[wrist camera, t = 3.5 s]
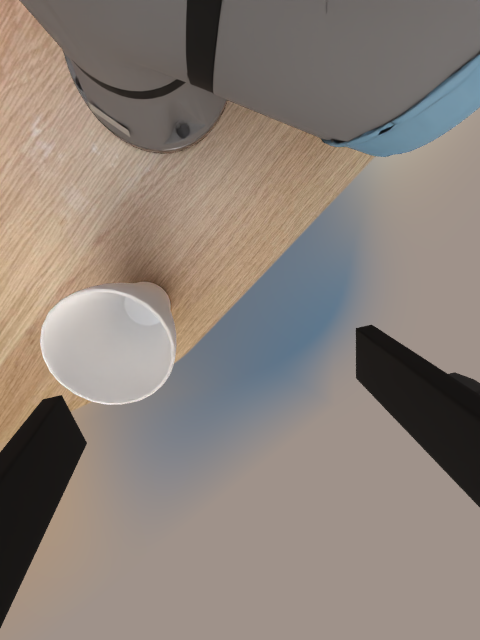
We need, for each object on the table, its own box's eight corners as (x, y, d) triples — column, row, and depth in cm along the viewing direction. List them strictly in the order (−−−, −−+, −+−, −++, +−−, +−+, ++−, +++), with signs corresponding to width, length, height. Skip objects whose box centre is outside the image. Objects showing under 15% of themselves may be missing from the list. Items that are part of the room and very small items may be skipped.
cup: (119, 248, 32) (59, 264, 20) (201, 284, 35) (195, 320, 22) (92, 324, 35) (25, 381, 22) (170, 353, 38) (149, 420, 25)
